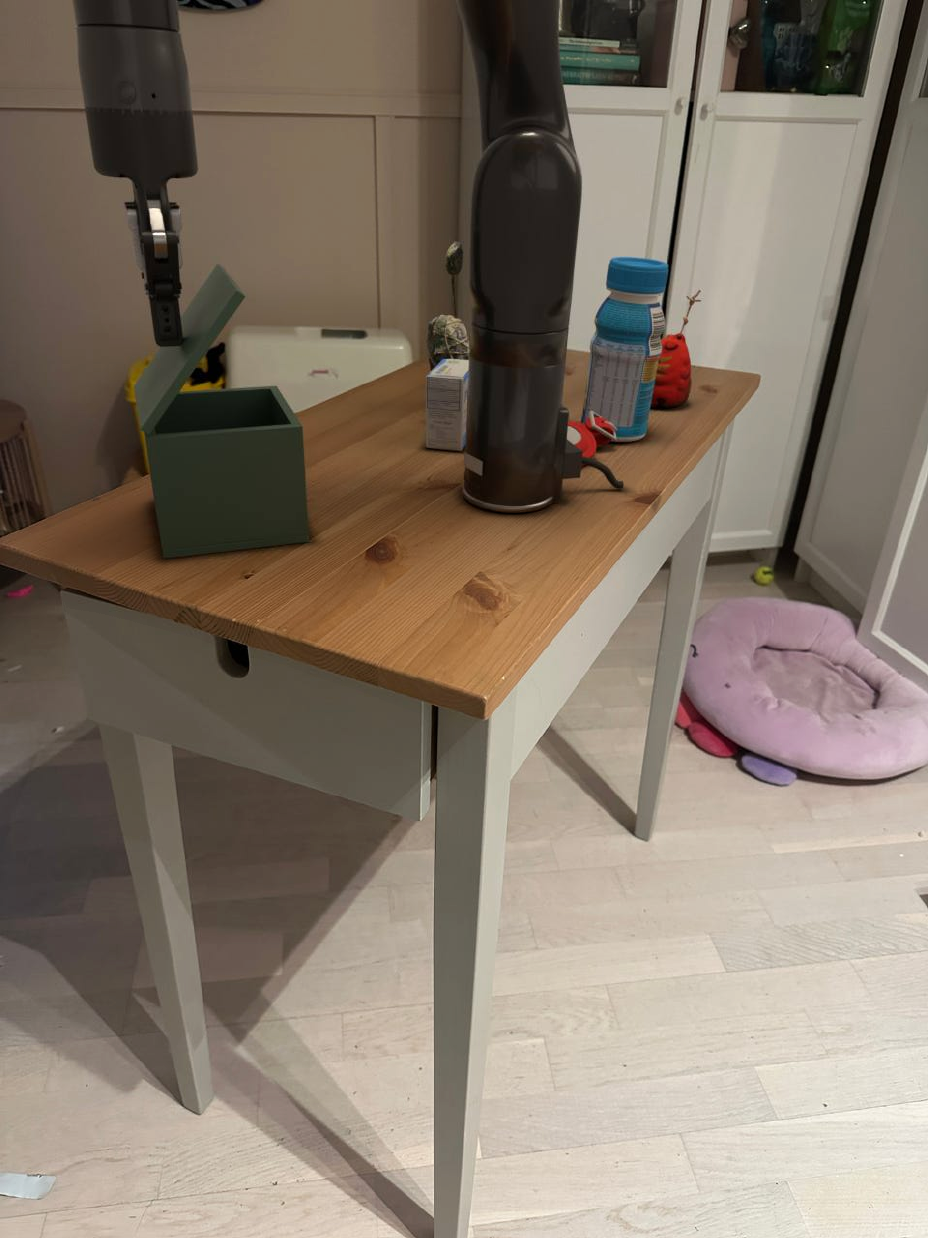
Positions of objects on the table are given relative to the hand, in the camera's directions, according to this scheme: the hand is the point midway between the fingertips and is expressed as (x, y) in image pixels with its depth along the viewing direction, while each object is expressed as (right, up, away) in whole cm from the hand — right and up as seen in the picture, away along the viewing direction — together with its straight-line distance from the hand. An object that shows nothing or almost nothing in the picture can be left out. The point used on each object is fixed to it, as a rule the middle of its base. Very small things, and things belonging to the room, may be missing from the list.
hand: (169, 343), depth 74 cm
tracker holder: (+37, -4, +29) cm, 47 cm away
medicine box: (+23, -2, +32) cm, 39 cm away
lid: (+1, 0, +1) cm, 2 cm away
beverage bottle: (+43, 0, +36) cm, 56 cm away
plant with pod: (+24, +5, +43) cm, 49 cm away
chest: (+2, -14, +9) cm, 17 cm away
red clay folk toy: (+52, +7, +49) cm, 71 cm away
